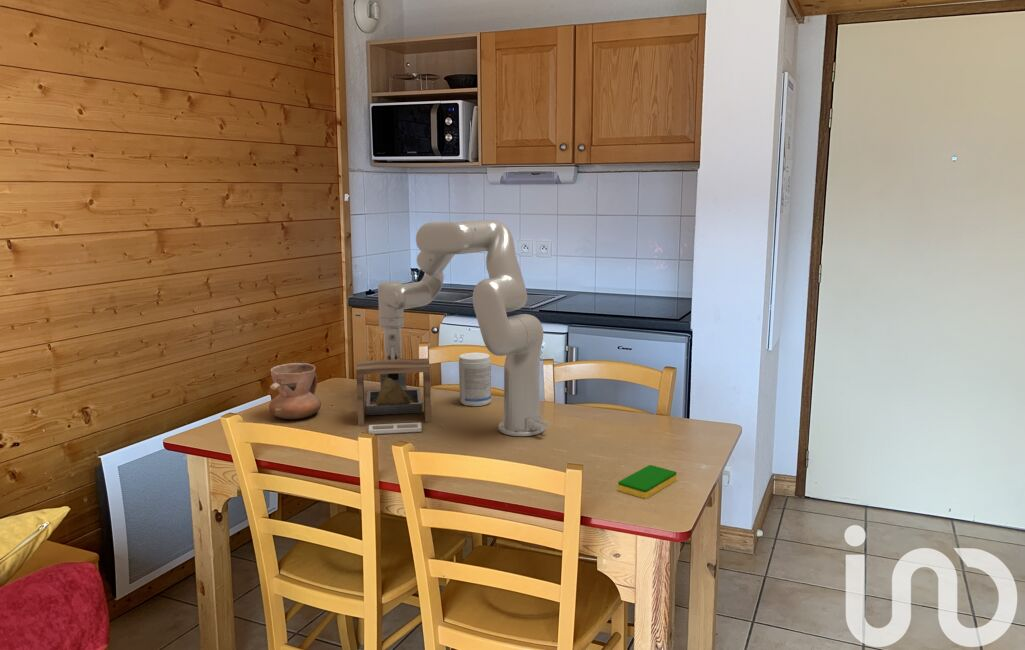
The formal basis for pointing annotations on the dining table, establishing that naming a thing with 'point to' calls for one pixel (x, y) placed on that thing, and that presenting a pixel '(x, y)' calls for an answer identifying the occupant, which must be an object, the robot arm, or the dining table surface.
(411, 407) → the slider
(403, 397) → the rock
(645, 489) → the dish sponge
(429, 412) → the tunnel
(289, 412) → the ceramic jug
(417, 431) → the plate
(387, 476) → the dining table surface
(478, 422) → the dining table surface
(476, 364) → the supplement tub
